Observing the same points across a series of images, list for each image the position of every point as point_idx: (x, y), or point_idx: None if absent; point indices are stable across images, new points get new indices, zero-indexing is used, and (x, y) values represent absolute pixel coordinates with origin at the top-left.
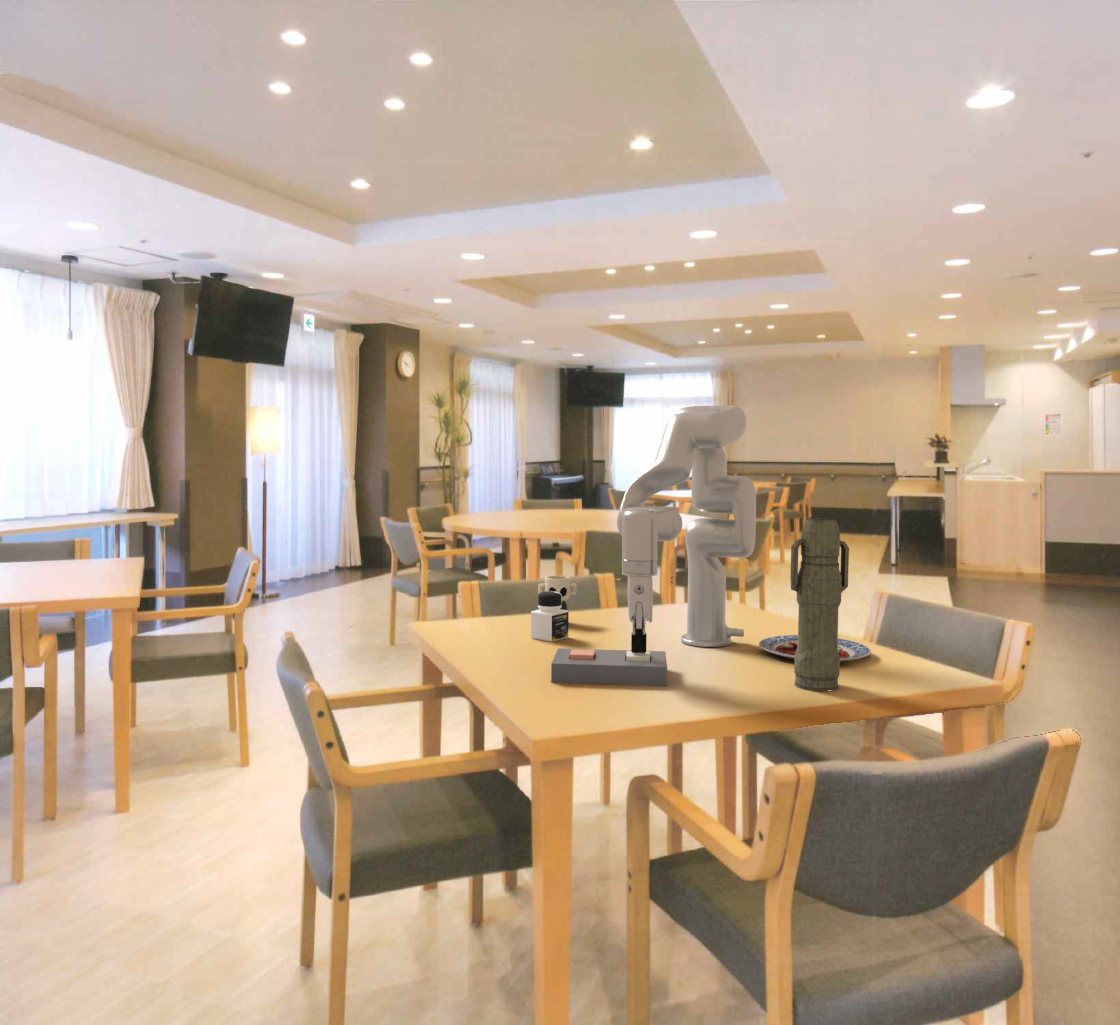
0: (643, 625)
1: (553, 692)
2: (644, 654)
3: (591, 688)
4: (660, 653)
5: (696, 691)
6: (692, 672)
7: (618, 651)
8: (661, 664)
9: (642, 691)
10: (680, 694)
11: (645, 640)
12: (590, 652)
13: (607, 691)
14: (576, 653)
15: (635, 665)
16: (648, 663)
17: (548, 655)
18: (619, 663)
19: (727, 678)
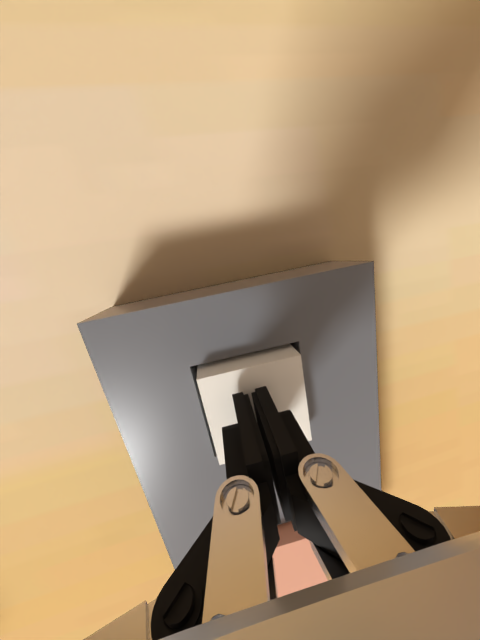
0: (432, 539)
1: (426, 490)
2: (261, 386)
3: (386, 437)
4: (132, 337)
5: (374, 150)
6: (115, 193)
7: (170, 492)
8: (336, 292)
9: (396, 318)
10: (413, 203)
11: (284, 427)
12: (285, 553)
13: (406, 398)
14: (312, 577)
15: (369, 380)
16: (330, 344)
17: (102, 624)
18: (351, 435)
19: (154, 14)
